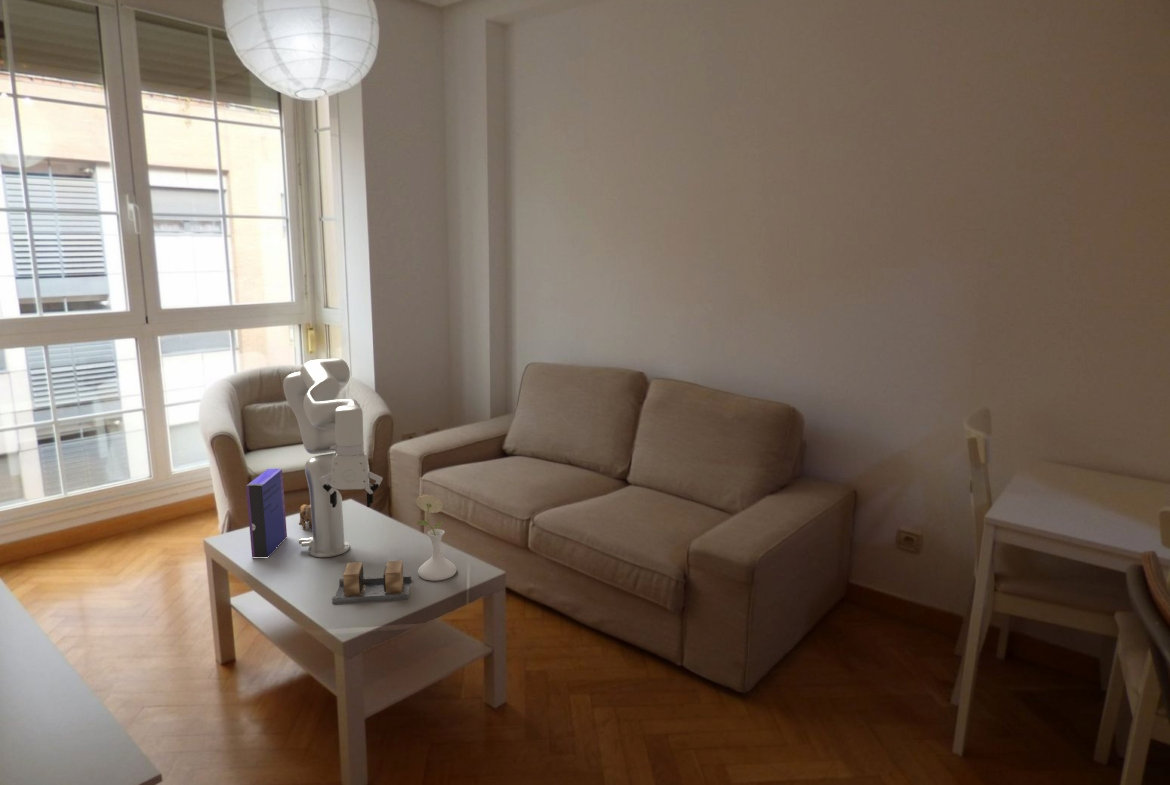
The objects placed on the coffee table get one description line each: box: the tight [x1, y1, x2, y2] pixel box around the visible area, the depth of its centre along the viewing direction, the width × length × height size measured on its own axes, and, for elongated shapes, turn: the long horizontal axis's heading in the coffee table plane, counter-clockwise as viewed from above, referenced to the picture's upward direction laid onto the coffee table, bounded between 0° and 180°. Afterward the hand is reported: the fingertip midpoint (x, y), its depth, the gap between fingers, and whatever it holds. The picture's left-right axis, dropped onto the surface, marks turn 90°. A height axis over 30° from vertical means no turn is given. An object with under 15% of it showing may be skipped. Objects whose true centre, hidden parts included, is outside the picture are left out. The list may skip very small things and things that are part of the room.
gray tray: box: [331, 574, 412, 605], centre depth 212 cm, size 20×12×2 cm, turn 98°
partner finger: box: [383, 560, 404, 593], centre depth 212 cm, size 5×8×7 cm, turn 8°
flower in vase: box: [415, 494, 457, 582], centre depth 222 cm, size 13×11×25 cm
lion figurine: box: [298, 504, 312, 531], centre depth 262 cm, size 15×5×9 cm, turn 37°
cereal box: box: [245, 468, 288, 558], centre depth 242 cm, size 17×5×24 cm, turn 2°
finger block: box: [342, 561, 365, 596], centre depth 210 cm, size 4×8×7 cm, turn 8°
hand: (352, 505), depth 216 cm, fingers open, 9 cm apart
